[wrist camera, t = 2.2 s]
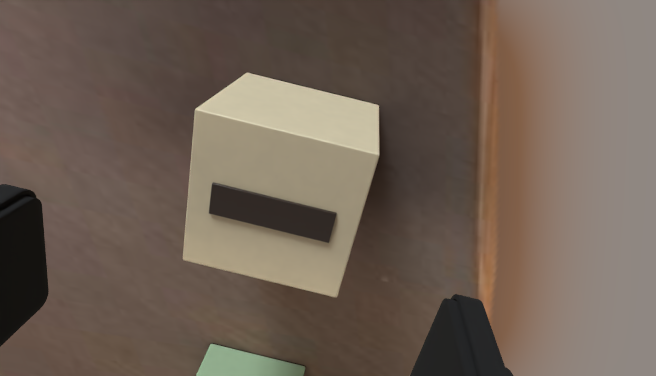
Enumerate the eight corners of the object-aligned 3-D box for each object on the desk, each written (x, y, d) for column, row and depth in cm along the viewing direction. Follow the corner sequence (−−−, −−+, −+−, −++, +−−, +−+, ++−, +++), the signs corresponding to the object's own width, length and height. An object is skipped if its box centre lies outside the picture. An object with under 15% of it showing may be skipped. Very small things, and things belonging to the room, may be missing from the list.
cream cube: (246, 72, 16) (192, 109, 11) (379, 105, 16) (379, 155, 11) (231, 190, 18) (180, 262, 13) (347, 219, 18) (336, 300, 13)
